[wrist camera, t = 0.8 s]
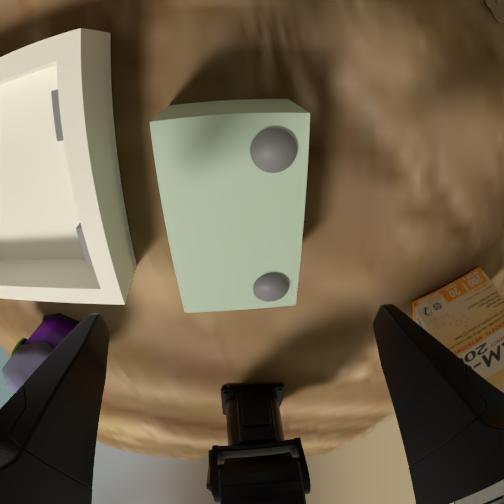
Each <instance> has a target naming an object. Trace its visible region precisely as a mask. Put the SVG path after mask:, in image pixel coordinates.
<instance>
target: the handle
mask: <svg viewBox="0 0 504 504" xmlns="http://www.w3.org/2000/svg"><path fill="white" fill-rule="evenodd" d="M485 3H486V5H487V6H488V7H489V8H490V10H491V11H492V13H493V15H494V18H495V19H496V20H497V21H498V22H500V23H502V24H504V0H485Z"/></svg>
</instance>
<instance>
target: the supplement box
mask: <svg viewBox="0 0 504 504" xmlns="http://www.w3.org/2000/svg"><path fill="white" fill-rule="evenodd" d="M412 306H413V307H412V308H413V321H415V322H416V323H417V324H419V325H420V326H421V327H422V328H423V329H425V330H426V331H427V332H428V333H430V334H431V335H432V336H433V337H435V338H436V339H437V340H438V341H439V342H441V343H442V344H443V345H444V346H446V347H447V348H448V349H449V350H450V351H452V352H453V353H454V354H455V355H456V356H458V357H459V358H460V359H461V360H462V361H464V363H466V364H467V365H468V366H470V367H471V368H472V369H473V370H474V371H475V372H477V373H478V374H479V375H480V376H482V377H483V378H484V379H486V380H487V381H488V382H490V383H491V384H492V385H494V386H495V387H496V388H498V389H499V390H500V391H502V392H503V393H504V297H503V296H502V294H501V293H500V292H499V290H498V289H497V288H496V287H495V285H494V284H493V283H492V281H491V280H490V279H489V278H488V276H487V275H486V274H485V273H484V271H483V270H482V269H481V268H480V267H478V268H476V269H474V270H472V271H471V272H470V273H468V274H466V275H464V276H463V277H461V278H459V279H457V280H455V281H454V282H452V283H450V284H448V285H446V286H444V287H442V288H441V289H439V290H437V291H435V292H433V293H430V294H428V295H426V296H424V297H422V298H419V299H417V300H415V301H413V302H412Z"/></svg>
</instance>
